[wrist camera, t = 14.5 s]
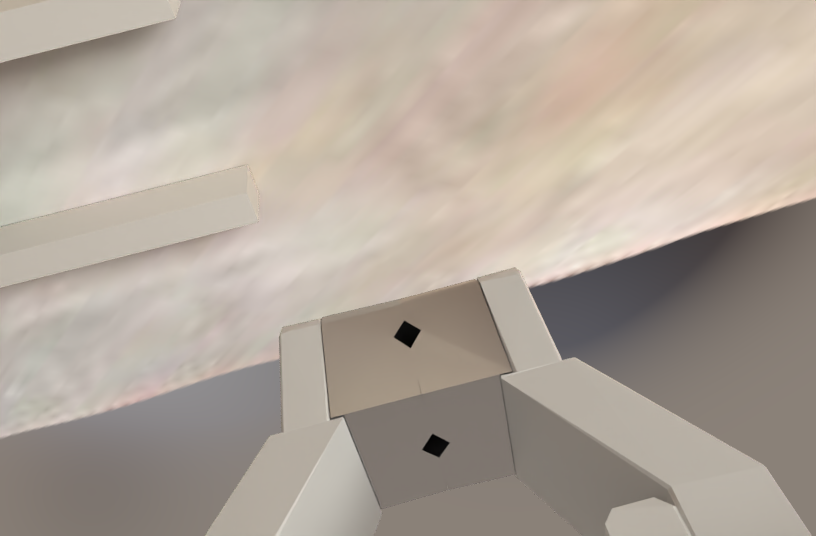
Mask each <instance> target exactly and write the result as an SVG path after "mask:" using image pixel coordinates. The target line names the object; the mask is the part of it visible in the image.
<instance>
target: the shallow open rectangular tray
mask: <svg viewBox="0 0 816 536" xmlns="http://www.w3.org/2000/svg"><path fill="white" fill-rule="evenodd" d="M180 2H181V0H0V63H2V62H6V61H10V60H14V59H18V58H22V57H26V56H30V55H34V54H38V53H42V52H45V51H49V50H53V49H57V48H61V47H65V46H69V45H73V44H77V43H81V42H85V41H89V40H93V39H97V38H101V37H105V36H109V35H113V34H117V33H121V32H125V31H129V30H133V29H137V28H141V27H145V26H149V25H153V24H157V23H161V22H165V21H169V20H173V19H176V16H177V12H178V9H179V5H180ZM258 222H259V192H258V189H257V187H256V184H255V182H254V179H253V177H252V174H251V172H250V169H249V167H248V165H244V166H240V167H236V168H232V169H228V170H224V171H220V172H216V173H212V174H208V175H204V176H200V177H196V178H192V179H188V180H184V181H181V182H177V183H173V184H169V185H165V186H161V187H157V188H153V189H149V190H145V191H141V192H137V193H133V194H129V195H125V196H121V197H117V198H113V199H109V200H105V201H102V202H98V203H94V204H90V205H86V206H82V207H78V208H74V209H70V210H66V211H62V212H58V213H54V214H50V215H46V216H42V217H38V218H34V219H30V220H26V221H23V222H19V223H15V224H11V225H7V226H3V227H0V288H2V287H6V286H10V285H14V284H18V283H22V282H26V281H29V280H33V279H37V278H41V277H45V276H49V275H53V274H57V273H61V272H65V271H69V270H73V269H77V268H81V267H85V266H89V265H93V264H96V263H100V262H104V261H108V260H112V259H116V258H120V257H124V256H128V255H132V254H136V253H140V252H144V251H148V250H152V249H156V248H160V247H163V246H167V245H171V244H175V243H179V242H183V241H187V240H191V239H195V238H199V237H203V236H207V235H211V234H215V233H219V232H223V231H227V230H230V229H234V228H238V227H242V226H246V225H250V224H254V223H258Z"/></svg>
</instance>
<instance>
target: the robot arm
mask: <svg viewBox="0 0 816 536" xmlns="http://www.w3.org/2000/svg"><path fill="white" fill-rule="evenodd" d="M279 353H280V391H281V431H282V433H278V434H275V435H271V436H269V437H268V439H267V440H266V442H265V443H264V445H263V447H262V448H261V450H260V451H259V453H258V454H257V456H256V457H255V459H254V460H253V462H252V463H251V465H250V467H249V468H248V470H247V471H246V473H245V474H244V476H243V478H242V479H241V481H240V482H239V484H238V485H237V487H236V488H235V490H234V491H233V493H232V494H231V496H230V497H229V499H228V501H227V502H226V504H225V505H224V507H223V508H222V510H221V511H220V513H219V514H218V516H217V518H216V520H215V521H214V522H213V524H212V525H211V527H210V528H209V530H208V531H207V533H206V534H205V536H374V534H375V531H376V528H377V526H378V523H379V521H380V518H381V515H382V512H381V509H384V508H387V507H391V506H394V505H397V504H401V503H405V502H408V501H412V500H415V499H419V498H422V497H426V496H429V495H433V494H436V493H439V492H443V491H446V490H450V489H455V488H459V487H464V486H468V485H472V484H477V483H481V482H485V481H490V480H494V479H498V478H503V477H507V476H511V475H515V474H516V475H517V478H518V479H519V480H520V481H521V482H522V483H524V484H525V485H526V486H527V487H528V488H529V489H530V490H531V491H532V492H534V493H535V494H536V495H537V496H538V497H539V498H540V499H542V500H543V501H544V502H545V503H546V504H547V505H548V506H549V507H550V508H552V509H553V510H554V511H555V512H556V513H557V514H558V515H559V516H561V517H562V518H563V519H564V520H565V521H566V522H568V524H570V525H571V526H572V527H573V528H574V529H575V530H576V531H577V532H579V533H580V534H581V535H582V536H812V535H811V534H810V533H809V531H808V530H807V528H806V526H805V525H804V523H803V522H802V520H801V519H800V517H799V516H798V514H797V513H796V512H795V510H794V508H793V507H792V506H791V504H790V503H789V501H788V500H787V498H786V497H785V495H784V494H783V492H782V491H781V489H780V488H779V486H778V485H777V483H776V482H775V480H774V479H773V477H772V476H771V474H770V473H769V471H768V470H767V468H766V467H765V466H764V465H763V464H761V463H759V462H757V461H755V460H754V459H752V458H750V457H749V456H747V455H745V454H743V453H742V452H740V451H738V450H736V449H734V448H733V447H731V446H729V445H727V444H726V443H724V442H722V441H721V440H719V439H717V438H715V437H713V436H712V435H710V434H708V433H706V432H705V431H703V430H701V429H699V428H697V427H696V426H694V425H692V424H691V423H689V422H687V421H685V420H683V419H682V418H680V417H678V416H677V415H675V414H673V413H671V412H670V411H668V410H666V409H664V408H663V407H661V406H659V405H657V404H656V403H654V402H652V401H650V400H649V399H647V398H645V397H643V396H642V395H640V394H638V393H636V392H635V391H633V390H631V389H629V388H627V387H626V386H624V385H622V384H621V383H619V382H617V381H615V380H614V379H612V378H610V377H608V376H606V375H605V374H603V373H601V372H599V371H598V370H596V369H594V368H592V367H591V366H589V365H587V364H585V363H584V362H582V361H580V360H578V359H577V358H570V359H566V360H562V359H561V357H560V355H559V352H558V350H557V348H556V346H555V344H554V342H553V340H552V338H551V335H550V333H549V331H548V329H547V327H546V325H545V323H544V321H543V319H542V316H541V314H540V312H539V310H538V308H537V306H536V304H535V301H534V299H533V297H532V295H531V293H530V291H529V289H528V287H527V284H526V282H525V280H524V278H523V276H522V274H521V272H520V271H519V270H518V269H516V268H515V267H514V268H511V269H507V270H504V271H500V272H496V273H493V274H489V275H485V276H482V277H478V278H477V280H476V279H473V280H469V281H466V282H462V283H458V284H454V285H451V286H447V287H443V288H439V289H435V290H432V291H428V292H424V293H420V294H417V295H413V296H409V297H405V298H401V299H398V300H394V301H389V302H385V303H381V304H376V305H372V306H368V307H364V308H359V309H355V310H351V311H346V312H342V313H338V314H333V315H329V316H325V317H322V319H316V320H311V321H307V322H303V323H298V324H294V325H290V326H285V327H282V330H281V333H280V336H279ZM447 487H448V488H447Z"/></svg>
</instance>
